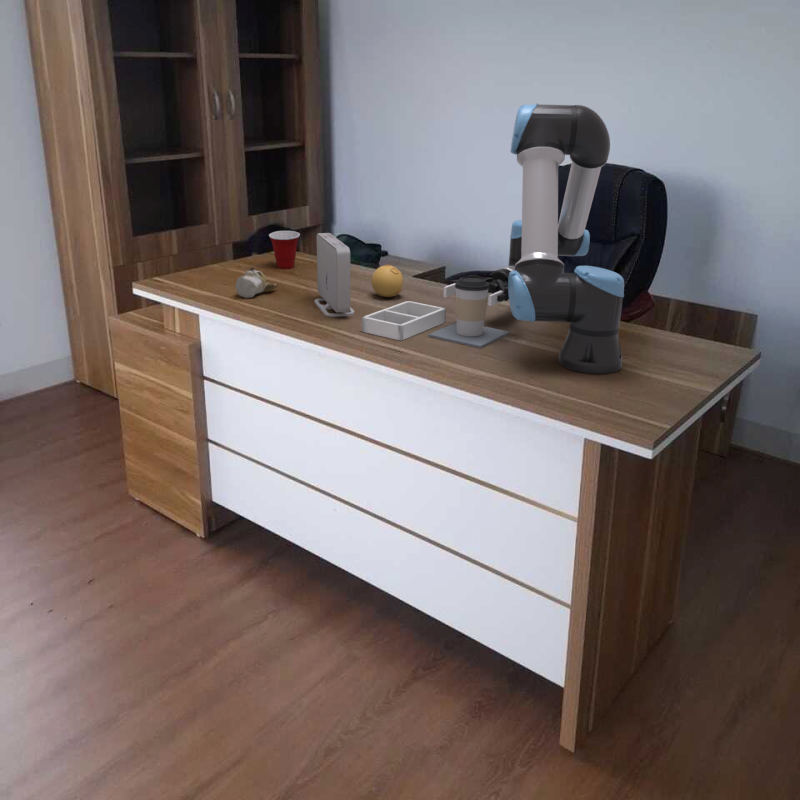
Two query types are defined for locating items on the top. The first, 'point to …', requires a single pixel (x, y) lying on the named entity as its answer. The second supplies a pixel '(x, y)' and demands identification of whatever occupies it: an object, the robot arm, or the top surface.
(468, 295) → the coffee cup
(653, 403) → the top surface
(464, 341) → the grey mat
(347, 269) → the network device
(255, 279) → the ceramic sculpture
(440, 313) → the white rectangular frame
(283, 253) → the plastic cup
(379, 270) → the stress ball
